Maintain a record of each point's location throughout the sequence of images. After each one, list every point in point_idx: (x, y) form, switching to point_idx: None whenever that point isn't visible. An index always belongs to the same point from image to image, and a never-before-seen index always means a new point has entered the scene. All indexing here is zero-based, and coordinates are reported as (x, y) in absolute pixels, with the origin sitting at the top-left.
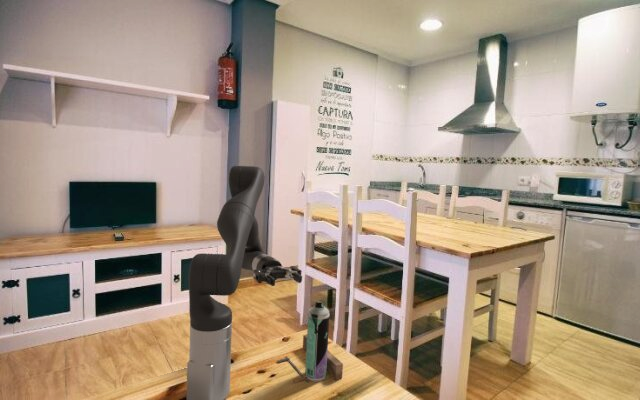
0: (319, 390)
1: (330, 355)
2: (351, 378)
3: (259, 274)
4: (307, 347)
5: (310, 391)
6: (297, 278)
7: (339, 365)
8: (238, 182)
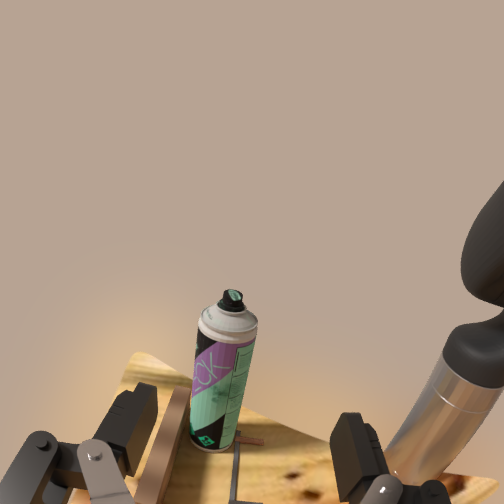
0: None
1: (173, 411)
2: (161, 397)
3: (439, 489)
4: (242, 398)
5: (248, 415)
6: (149, 418)
7: (183, 388)
8: None
